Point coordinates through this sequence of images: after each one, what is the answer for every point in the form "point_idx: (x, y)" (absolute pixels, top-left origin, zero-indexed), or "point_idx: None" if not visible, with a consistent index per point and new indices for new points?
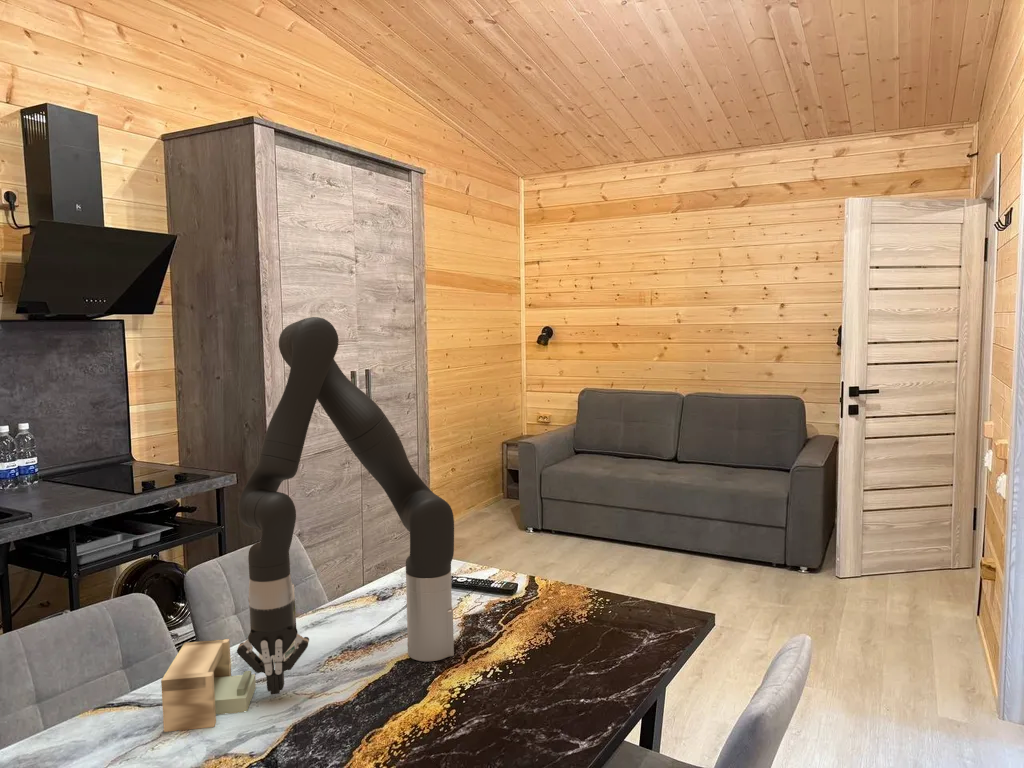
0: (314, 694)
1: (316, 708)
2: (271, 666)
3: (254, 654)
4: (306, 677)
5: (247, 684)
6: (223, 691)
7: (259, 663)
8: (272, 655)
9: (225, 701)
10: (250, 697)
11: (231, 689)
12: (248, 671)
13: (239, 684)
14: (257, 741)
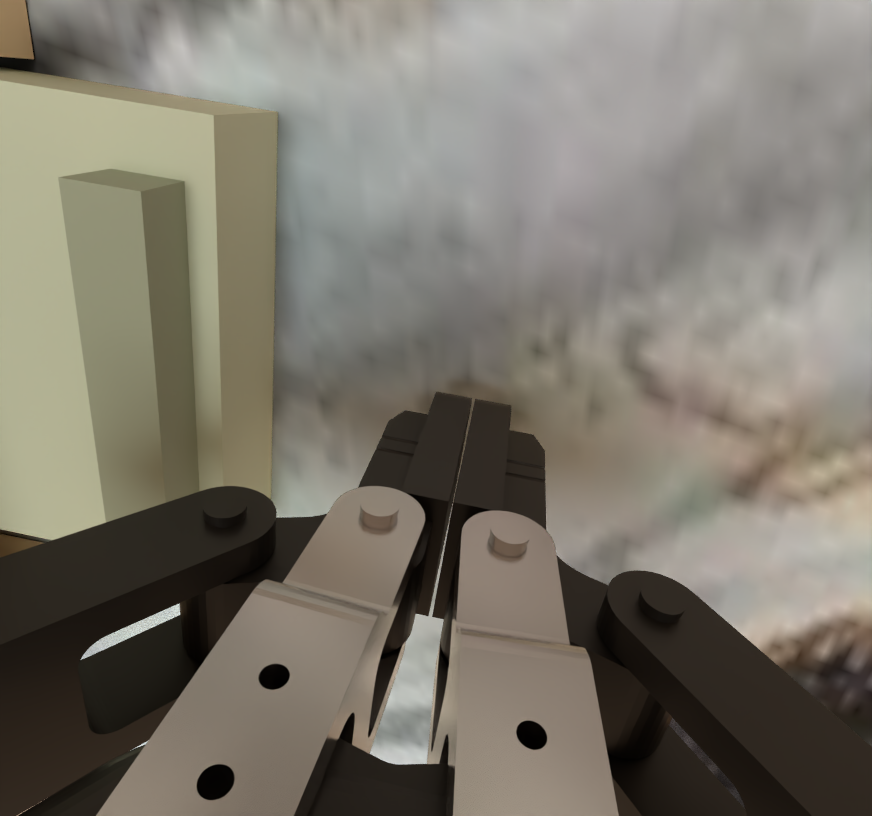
0: (792, 453)
1: None
2: (381, 714)
3: (39, 669)
4: (832, 46)
5: (183, 411)
6: (3, 410)
7: (205, 625)
8: (368, 679)
9: None
10: (261, 382)
11: (61, 398)
12: (112, 205)
13: (106, 488)
14: None
